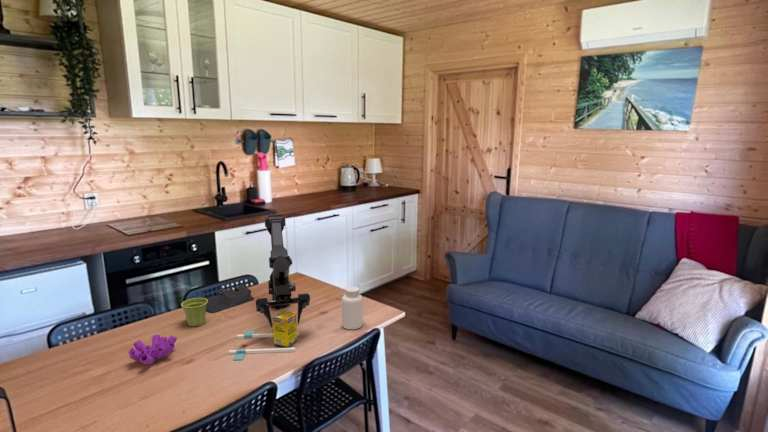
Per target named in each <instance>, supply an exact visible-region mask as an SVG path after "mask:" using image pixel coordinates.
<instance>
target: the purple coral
mask: <svg viewBox="0 0 768 432" xmlns="http://www.w3.org/2000/svg"><path fill="white" fill-rule="evenodd" d="M177 339H178V337H177V336H173V335H169V337H167V336H161V335H160V334H155V335H152V339H151V344H148V345H145V344H144V342H143V341H142V340H140V339H138V340H136V341H135V342H133V346H134V347H132V348H130V349H129V350H128V354H129V358H131V359H132V360H133V361H137V362H141V364H143V365H151V364H152V363H155V361H157V360H159V359H162V358H165V357H166V356H169V354H171V353H172V352H173V351H174V349H175V346H176V345H175V343H176V342H177Z"/></svg>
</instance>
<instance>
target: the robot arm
mask: <svg viewBox="0 0 768 432" xmlns="http://www.w3.org/2000/svg"><path fill="white" fill-rule="evenodd" d="M282 215H283V214H280V213H279V214H268V215H267V217H264V227H265V228H266V231H267V232H268V234H269V235H270V241H271V243H270V244H271V250H270V257H268V263H269V268H270V269H272V272H271V273H270V275H269V280H268V283H267V284H268V285H267V286H268V295H271V300H268V297H261V298H260V297H259V298H256V300H255V308H256V312H259V313H260V314H263V316H265V318H266V320H267V322H268V324H269V326H270V328H273V319H272V316H271V310H270V307H271V308H274V309H276V310H280V309H283V308H286V307H289V306H291V305H292V304H293V305H294V304H297V317H296V322H297V324H298V325H299V324H300V321H301V317H302V312H303V309H306V308H307V307H308V306H310V302H311V297H310V294H309V293H308V292H307V293H298V295H297V297H293V298H292V293H293V292H296V290H297V289H296V282H295V281H294V282H293V281H292V282H291V281H290V276H289V274H290V268H291V267H292V265H293V260H292V258H291V257H290V255H288V249H286V248H285V245H284V237H283V231H284V229H285V227H286V216H282Z"/></svg>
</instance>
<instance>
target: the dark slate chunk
mask: <svg viewBox="0 0 768 432" xmlns="http://www.w3.org/2000/svg"><path fill="white" fill-rule="evenodd" d="M220 293H221V294H220V295H219V294H216V295H214V296H213V295H212V296H211V297H208V298H206V299H207V300H208V302H207V305H206V311H207V312H208V313H211V314H216V313H220V312H221V311H222V312H223V311H225V310H229V309H232V308H234V307H238V306H240V305H243V304H246V303H249V302H250V303H251V302H252V301H254V299H255V297H253V296H252V295H251V293H252V290H251V289H250V288H248V287H246V286H245V284H241V285H239V286H235V287H234V289H232V288H228V289H227V290H226V289H224V290H221V292H220Z"/></svg>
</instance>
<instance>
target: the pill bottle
mask: <svg viewBox="0 0 768 432" xmlns="http://www.w3.org/2000/svg"><path fill="white" fill-rule="evenodd" d="M363 305H364V303H363V296H362V295H361V294H360V288H359V287H358V286H348V287H346V288H345V293H344V295H342V297H341V324H342V325H341V326H342V327H343V328H344V329H346V330H357V329H360V328H362V327H363V323H364V322H363V319H364V318H363V310H364V309H363V307H364V306H363Z"/></svg>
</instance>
